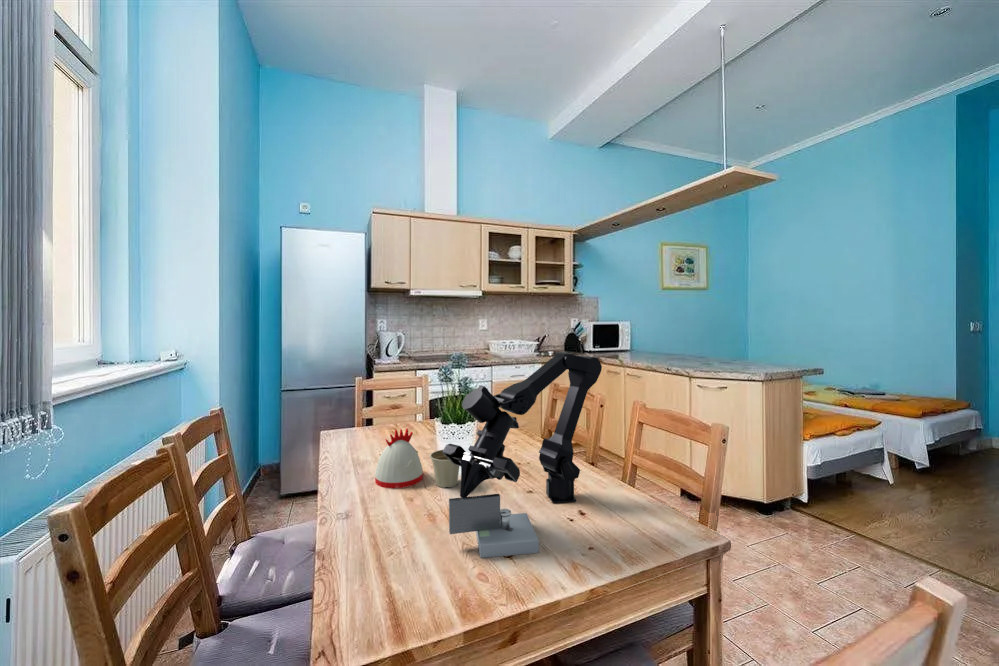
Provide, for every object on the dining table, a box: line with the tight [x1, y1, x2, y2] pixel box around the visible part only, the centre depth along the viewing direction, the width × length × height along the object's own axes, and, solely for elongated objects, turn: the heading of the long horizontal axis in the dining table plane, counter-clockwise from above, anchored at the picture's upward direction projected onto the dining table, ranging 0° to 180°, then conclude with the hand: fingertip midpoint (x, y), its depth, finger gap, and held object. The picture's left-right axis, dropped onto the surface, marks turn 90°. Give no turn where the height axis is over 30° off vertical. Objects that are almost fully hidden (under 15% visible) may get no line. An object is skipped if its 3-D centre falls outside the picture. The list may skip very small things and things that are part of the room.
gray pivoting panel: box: [448, 493, 512, 535], centre depth 86 cm, size 13×3×7 cm, turn 103°
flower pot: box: [429, 449, 460, 488], centre depth 117 cm, size 9×9×9 cm
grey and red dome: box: [374, 428, 424, 489], centre depth 121 cm, size 14×14×15 cm
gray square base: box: [475, 512, 540, 559], centre depth 87 cm, size 12×12×3 cm
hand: (462, 497), depth 86 cm, fingers closed
